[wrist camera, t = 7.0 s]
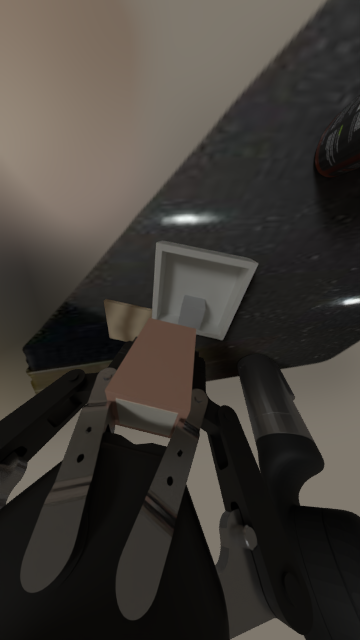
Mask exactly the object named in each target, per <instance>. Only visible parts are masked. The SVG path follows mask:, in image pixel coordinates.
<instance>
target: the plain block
mask: <svg viewBox="0 0 360 640" xmlns="http://www.w3.org/2000/svg"><path fill="white" fill-rule="evenodd" d="M204 313H205V299H202V298H198V297H193V296H188V295H184V299H183V302H182V306H181V311H180V316H179V321H178V325H182V326H187V327H191V328H196V329H200V326H201V323H202V319H203V316H204Z"/></svg>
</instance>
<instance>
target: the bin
mask: <svg viewBox="0 0 360 640" xmlns="http://www.w3.org/2000/svg"><path fill="white" fill-rule="evenodd" d="M257 266H258V263H257V262H255V261H254V260H252V259H250V258H246V257H241V256H236V255H231V254H226V253H222V252H217V251H212V250H207V249H202V248H197V247H192V246H188V245H183V244H178V243H173V242H168V241H160V242H156V257H155V274H154V290H153V307H152V319H156V320H161V321H165V322H169V323H173V324H178V321H179V316H180V311H181V306H182V302H183V299H184V295H188V296H193V297H198V298H202V299H205V313H204V316H203V319H202V323H201V326H200V329H196V328H195V329H196V334H197V335H202V336H206V337H211V338H215V339H220V340H223V339H224V337H225V335H226V333H227V330H228V328H229V326H230V324H231V322H232V320H233V318H234V315H235V313H236V311H237V309H238V307H239V305H240V302H241V300H242V298H243V296H244V294H245V292H246V290H247V287H248V285H249V283H250V281H251V279H252V277H253V274H254V272H255V270H256V268H257ZM186 327H187V326H186ZM190 328H191V327H190Z"/></svg>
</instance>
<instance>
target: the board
mask: <svg viewBox="0 0 360 640" xmlns="http://www.w3.org/2000/svg"><path fill="white" fill-rule="evenodd" d="M104 305H105V311H106V317H107V323H108V329H109V335H110V338H113V339H117V340H122V341H126V342H128V341H129V340H130V341H133V340H134V339H135V337H136V336H137V337H138V335H139V334H140V332H141V330H142V329H143V327H144V326H145V324H146V322H147V321H148V319H149V318H152V309H149V308H144V307H140V306H135V305H131V304H126V303H122V302H117V301H112V300H108V299H106V300H104Z"/></svg>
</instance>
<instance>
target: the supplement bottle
mask: <svg viewBox="0 0 360 640" xmlns="http://www.w3.org/2000/svg"><path fill="white" fill-rule="evenodd" d="M315 165H316V168H317V170H318V172H319V173H320V174H321V175H323V176H325V177H336V176H339V175H342V174H345V173H348V172H350V171H352V170H355V169H357V168H359V167H360V96H359V97H358V98H356V99H355V100H354V101H353V102H352V103H351V104H349V105H348V106H347V107H346V108H345V109H344V110H343V111H342V112H341V113H340V114H339V115H338V116H337V117H336V118H335V119H334V120H333V121H332V122H331V123H330V125H329V126H328V127H327V129H326V130H325V132H324V133H323V135H322V137H321V139H320V142H319V144H318V147H317V150H316V155H315Z"/></svg>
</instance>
